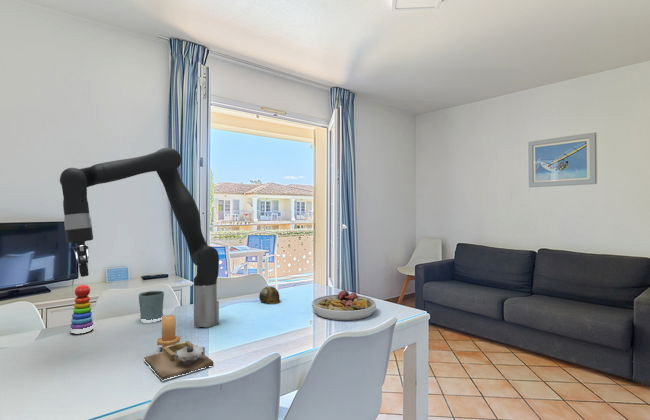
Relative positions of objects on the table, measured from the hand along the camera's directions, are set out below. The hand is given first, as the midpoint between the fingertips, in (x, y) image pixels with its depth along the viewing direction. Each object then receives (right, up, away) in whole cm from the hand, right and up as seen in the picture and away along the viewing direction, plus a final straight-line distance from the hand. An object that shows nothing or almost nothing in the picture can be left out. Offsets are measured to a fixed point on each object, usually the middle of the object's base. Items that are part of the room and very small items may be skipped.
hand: (84, 275), depth 120 cm
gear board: (+36, -26, -9) cm, 45 cm away
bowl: (+90, -27, +47) cm, 105 cm away
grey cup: (+6, -27, +35) cm, 44 cm away
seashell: (+53, -26, +65) cm, 88 cm away
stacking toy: (-15, -27, +21) cm, 37 cm away
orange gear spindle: (+27, -26, +3) cm, 38 cm away
